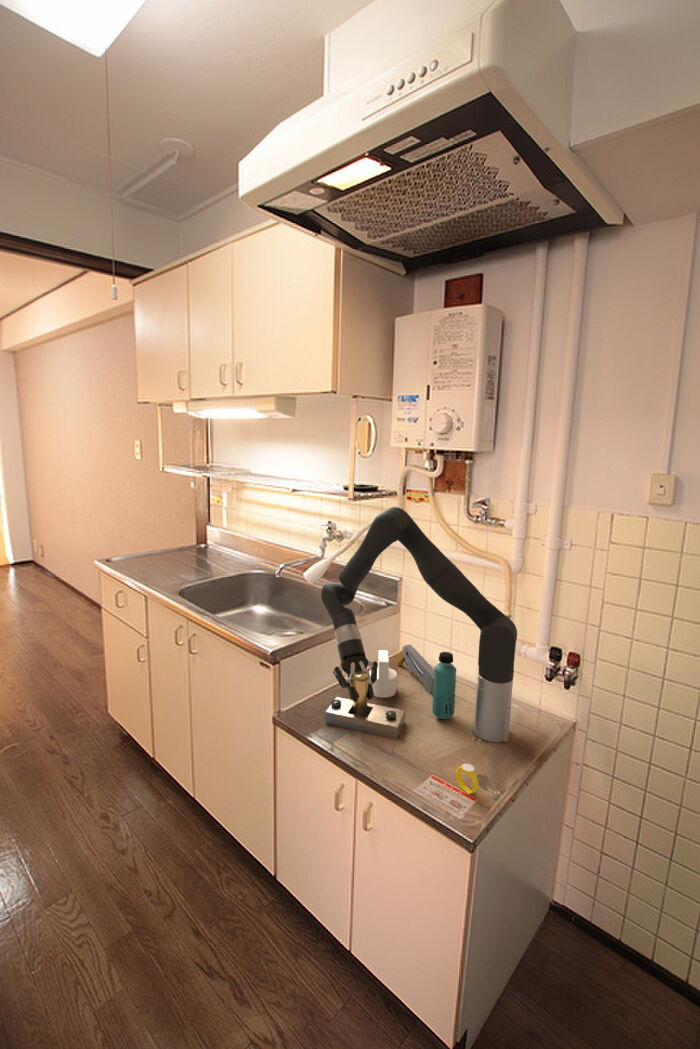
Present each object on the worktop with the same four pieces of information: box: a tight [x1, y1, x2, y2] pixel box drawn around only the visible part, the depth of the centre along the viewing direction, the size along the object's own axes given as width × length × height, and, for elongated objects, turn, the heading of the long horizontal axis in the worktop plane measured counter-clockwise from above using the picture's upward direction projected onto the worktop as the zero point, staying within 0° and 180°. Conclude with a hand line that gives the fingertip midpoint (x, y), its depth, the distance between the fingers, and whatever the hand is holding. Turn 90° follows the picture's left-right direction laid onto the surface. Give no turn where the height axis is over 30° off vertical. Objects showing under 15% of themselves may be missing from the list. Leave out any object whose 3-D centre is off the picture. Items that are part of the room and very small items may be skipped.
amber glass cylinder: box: [353, 671, 370, 717], centre depth 143 cm, size 5×5×12 cm
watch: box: [455, 763, 479, 795], centre depth 117 cm, size 6×3×6 cm, turn 31°
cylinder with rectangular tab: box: [368, 649, 398, 698], centre depth 162 cm, size 9×9×12 cm
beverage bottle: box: [431, 651, 457, 720], centre depth 146 cm, size 6×7×20 cm
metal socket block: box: [324, 696, 406, 740], centre depth 143 cm, size 21×9×5 cm, turn 71°
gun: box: [395, 644, 435, 695], centre depth 170 cm, size 3×25×15 cm, turn 26°
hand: (363, 699), depth 141 cm, fingers closed on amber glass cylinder, 4 cm apart
